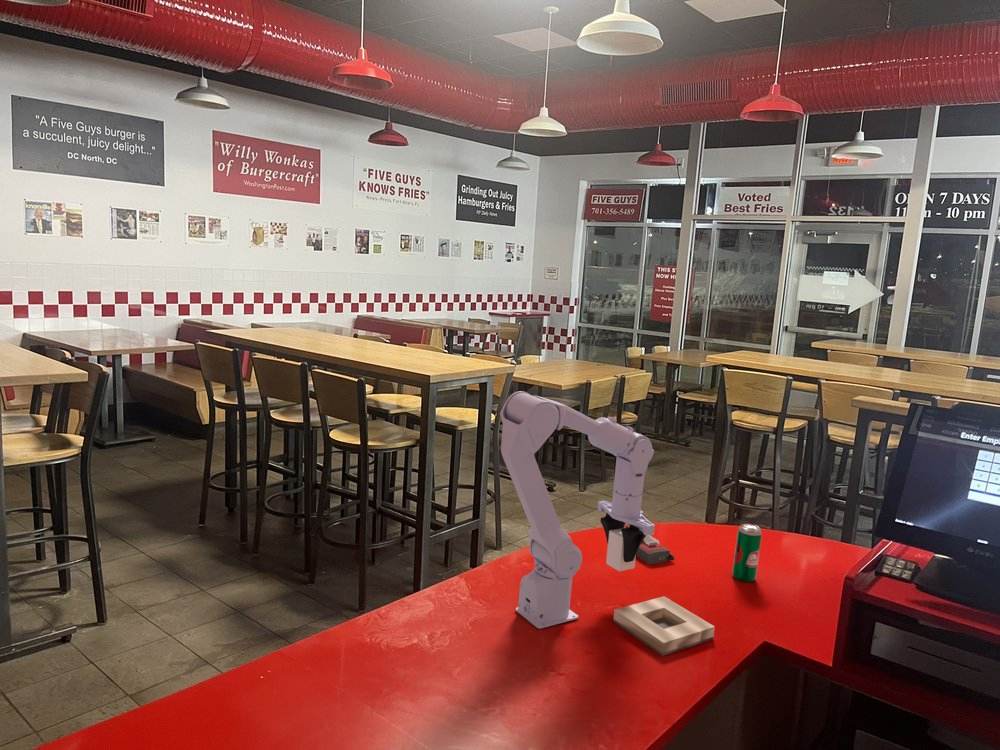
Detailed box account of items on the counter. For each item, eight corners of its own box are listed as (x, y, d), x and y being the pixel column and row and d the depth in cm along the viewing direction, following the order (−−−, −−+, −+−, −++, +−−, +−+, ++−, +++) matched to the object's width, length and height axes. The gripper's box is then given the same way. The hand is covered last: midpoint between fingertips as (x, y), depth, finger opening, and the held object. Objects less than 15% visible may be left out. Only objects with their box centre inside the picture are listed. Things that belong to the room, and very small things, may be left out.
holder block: (662, 655, 126) (663, 642, 126) (613, 621, 137) (614, 609, 137) (713, 639, 133) (714, 626, 133) (662, 607, 144) (664, 596, 144)
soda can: (747, 585, 157) (754, 533, 155) (727, 576, 161) (734, 525, 159) (759, 579, 161) (767, 528, 159) (739, 571, 164) (746, 521, 162)
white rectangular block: (619, 571, 142) (622, 537, 141) (606, 563, 145) (609, 530, 144) (634, 567, 144) (638, 534, 143) (620, 560, 147) (624, 527, 146)
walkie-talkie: (681, 563, 167) (629, 531, 185) (683, 545, 167) (630, 514, 184) (651, 568, 163) (600, 535, 181) (653, 549, 163) (602, 518, 180)
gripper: (669, 500, 138) (661, 567, 140) (618, 478, 150) (612, 540, 153) (642, 505, 134) (634, 573, 137) (592, 482, 146) (586, 545, 149)
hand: (621, 556), depth 144 cm, fingers closed on white rectangular block, 4 cm apart
